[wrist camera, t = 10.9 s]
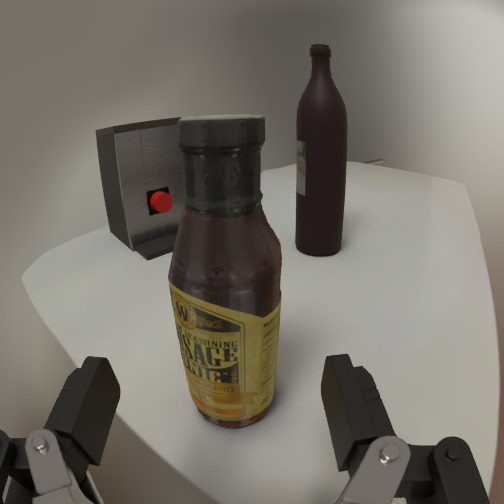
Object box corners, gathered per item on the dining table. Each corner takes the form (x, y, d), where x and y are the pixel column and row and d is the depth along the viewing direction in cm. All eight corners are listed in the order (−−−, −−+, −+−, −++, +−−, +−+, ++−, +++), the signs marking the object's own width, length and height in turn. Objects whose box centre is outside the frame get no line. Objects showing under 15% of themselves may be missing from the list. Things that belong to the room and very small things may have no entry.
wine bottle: (314, 234, 52) (315, 52, 39) (349, 247, 47) (355, 49, 34) (285, 246, 47) (283, 45, 35) (321, 261, 43) (325, 38, 30)
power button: (174, 210, 49) (171, 191, 47) (156, 215, 47) (153, 195, 45) (168, 207, 50) (166, 189, 49) (151, 212, 48) (148, 193, 47)
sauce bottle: (178, 400, 22) (123, 125, 13) (234, 362, 26) (217, 115, 17) (236, 450, 18) (202, 114, 9) (294, 399, 22) (308, 112, 13)
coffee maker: (209, 238, 51) (200, 115, 43) (144, 261, 44) (125, 123, 36) (162, 215, 64) (152, 121, 55) (110, 231, 57) (95, 130, 48)
